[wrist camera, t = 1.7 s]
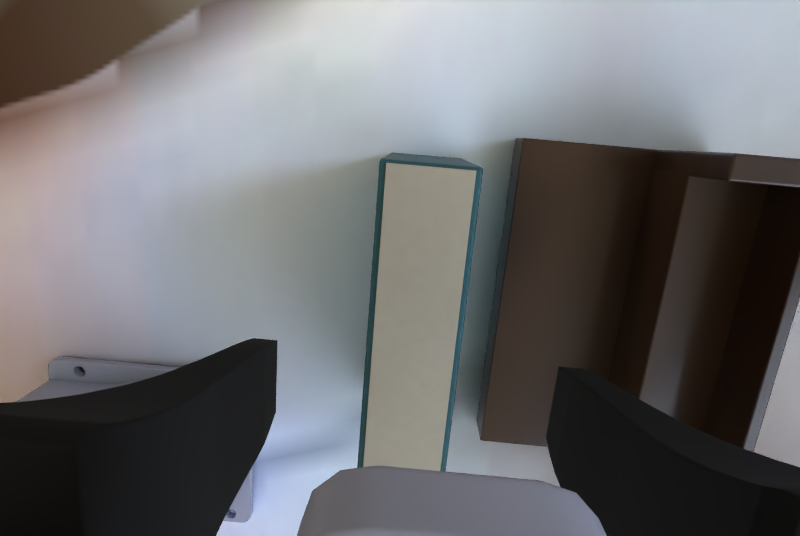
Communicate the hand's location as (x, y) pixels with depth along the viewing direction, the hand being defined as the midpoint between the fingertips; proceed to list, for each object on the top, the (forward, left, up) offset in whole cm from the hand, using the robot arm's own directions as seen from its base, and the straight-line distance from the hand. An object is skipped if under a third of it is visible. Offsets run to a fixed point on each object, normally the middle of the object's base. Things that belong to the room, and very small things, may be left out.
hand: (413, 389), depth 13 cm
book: (0, 0, -10) cm, 10 cm away
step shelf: (+7, 0, -10) cm, 12 cm away
